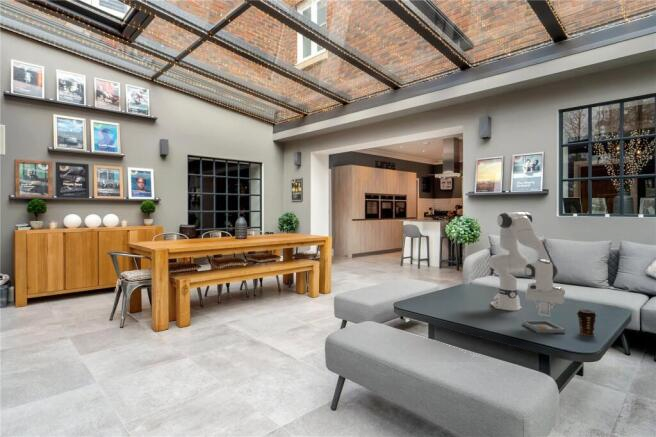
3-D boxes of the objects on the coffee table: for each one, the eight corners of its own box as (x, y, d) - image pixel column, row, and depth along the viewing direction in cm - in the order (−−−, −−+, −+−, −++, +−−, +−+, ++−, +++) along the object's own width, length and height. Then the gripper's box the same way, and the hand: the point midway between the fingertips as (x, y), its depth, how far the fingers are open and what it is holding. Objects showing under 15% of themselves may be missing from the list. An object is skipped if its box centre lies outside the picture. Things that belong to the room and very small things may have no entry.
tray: (522, 325, 213) (522, 320, 213) (546, 324, 214) (546, 320, 214) (538, 333, 197) (538, 329, 197) (564, 333, 198) (564, 329, 198)
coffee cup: (588, 331, 201) (588, 308, 201) (600, 336, 193) (600, 312, 193) (574, 331, 201) (573, 309, 201) (585, 336, 192) (585, 313, 192)
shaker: (538, 313, 214) (538, 300, 214) (549, 314, 212) (549, 301, 212) (539, 315, 209) (539, 302, 209) (549, 316, 206) (549, 303, 206)
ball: (539, 325, 203) (539, 327, 201) (544, 323, 202) (543, 325, 199) (543, 330, 202) (542, 332, 200) (548, 328, 201) (547, 329, 198)
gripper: (564, 287, 208) (564, 310, 208) (525, 284, 218) (525, 305, 218) (565, 289, 202) (565, 312, 202) (525, 285, 212) (525, 308, 212)
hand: (544, 309), depth 210 cm, fingers closed on shaker, 5 cm apart
